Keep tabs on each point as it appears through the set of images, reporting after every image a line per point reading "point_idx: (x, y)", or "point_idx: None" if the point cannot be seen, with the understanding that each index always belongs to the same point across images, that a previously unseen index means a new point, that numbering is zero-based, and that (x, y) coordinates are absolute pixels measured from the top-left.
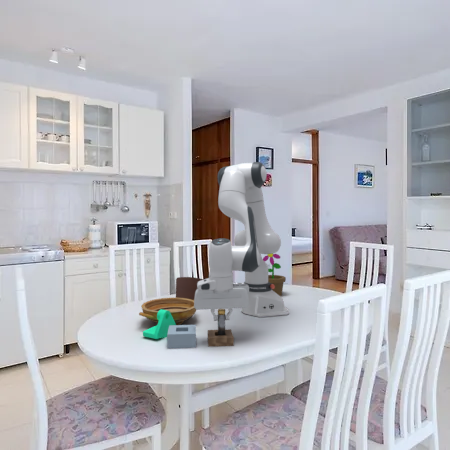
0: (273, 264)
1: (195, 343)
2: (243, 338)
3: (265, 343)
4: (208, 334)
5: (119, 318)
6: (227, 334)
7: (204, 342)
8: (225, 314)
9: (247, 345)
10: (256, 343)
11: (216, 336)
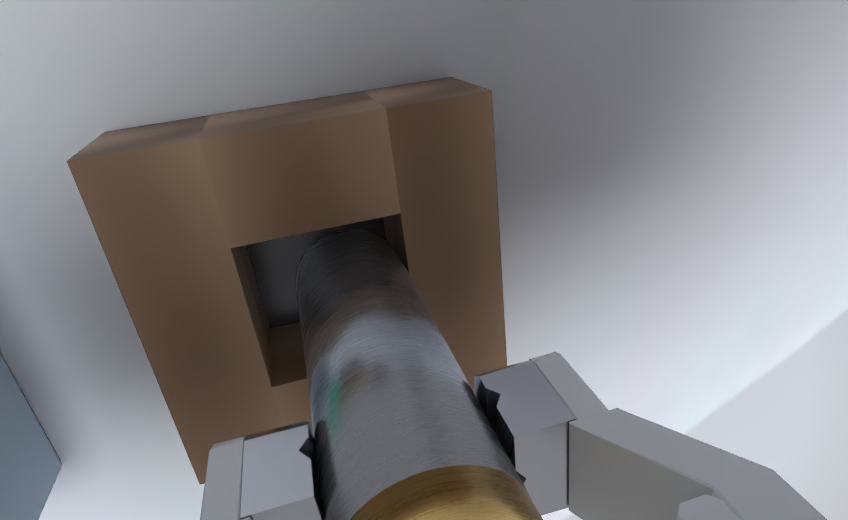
0: None
1: (40, 503)
2: (594, 114)
3: (763, 236)
4: (157, 363)
5: None
6: (437, 315)
7: (117, 307)
8: (525, 432)
9: (601, 309)
10: (689, 248)
11: (296, 407)
